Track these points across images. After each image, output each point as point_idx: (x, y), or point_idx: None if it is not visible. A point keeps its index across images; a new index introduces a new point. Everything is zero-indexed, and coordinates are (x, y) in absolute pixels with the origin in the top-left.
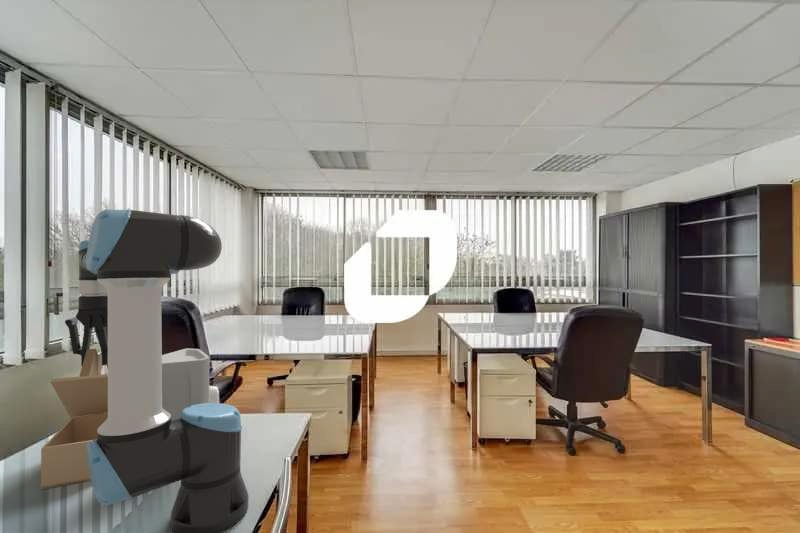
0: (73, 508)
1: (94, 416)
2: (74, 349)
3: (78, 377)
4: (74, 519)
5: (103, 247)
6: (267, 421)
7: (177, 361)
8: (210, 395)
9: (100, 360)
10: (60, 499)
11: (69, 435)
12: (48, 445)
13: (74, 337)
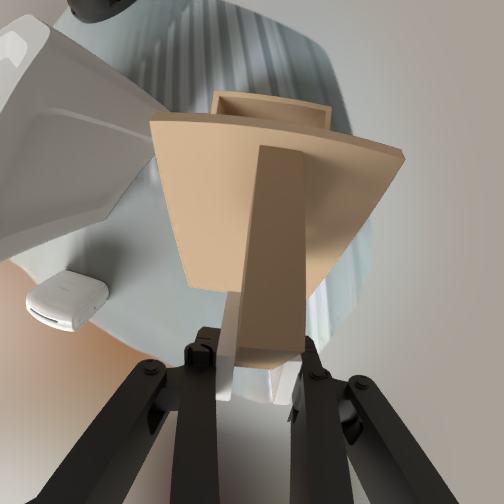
0: (253, 43)
1: None
2: (372, 395)
3: (302, 132)
4: (247, 20)
5: None
6: None
7: None
8: (39, 291)
9: (224, 334)
10: (276, 76)
11: None
12: (323, 126)
13: (403, 459)
